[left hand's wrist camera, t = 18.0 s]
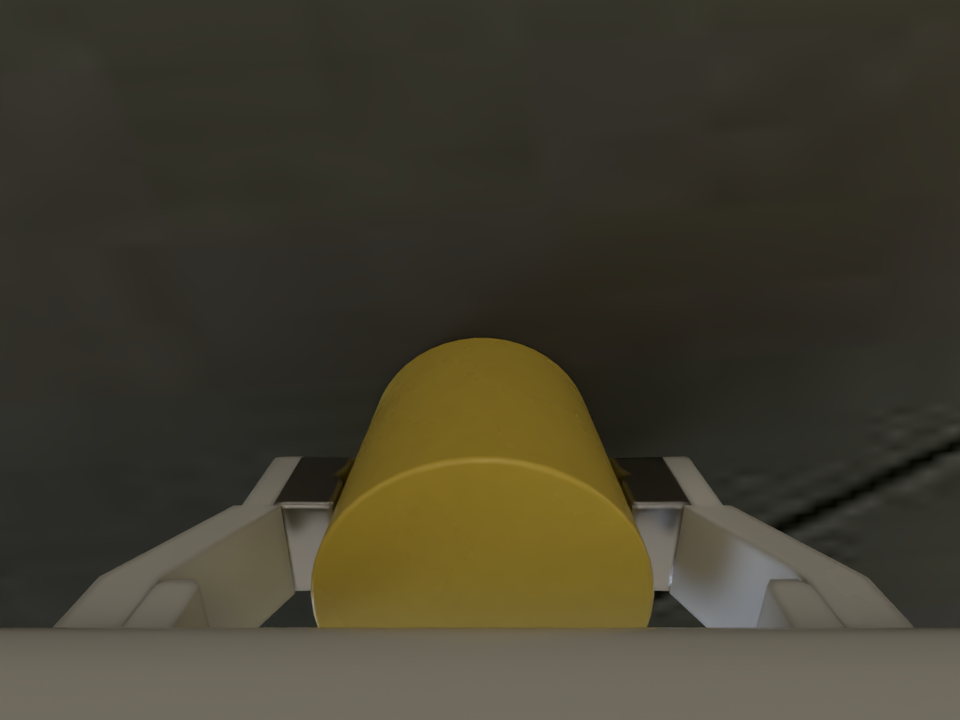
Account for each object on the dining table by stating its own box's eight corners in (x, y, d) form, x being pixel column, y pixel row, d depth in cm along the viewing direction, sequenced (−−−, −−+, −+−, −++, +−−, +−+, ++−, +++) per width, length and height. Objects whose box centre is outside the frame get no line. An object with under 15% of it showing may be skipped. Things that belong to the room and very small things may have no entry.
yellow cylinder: (627, 464, 12) (713, 643, 8) (453, 556, 13) (439, 763, 9) (516, 293, 11) (541, 389, 6) (329, 410, 12) (235, 569, 7)
